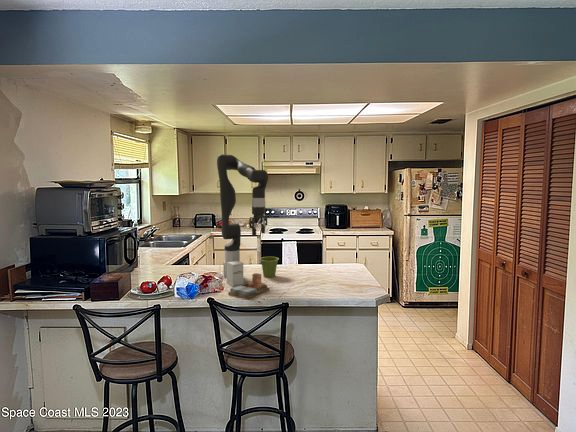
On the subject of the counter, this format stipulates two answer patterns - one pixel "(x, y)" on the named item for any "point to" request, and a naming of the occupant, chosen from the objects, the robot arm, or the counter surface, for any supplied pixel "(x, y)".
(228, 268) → the supplement box
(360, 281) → the counter surface
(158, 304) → the counter surface
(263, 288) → the ticket board
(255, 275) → the stub
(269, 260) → the plant pot
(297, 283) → the counter surface
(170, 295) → the counter surface
